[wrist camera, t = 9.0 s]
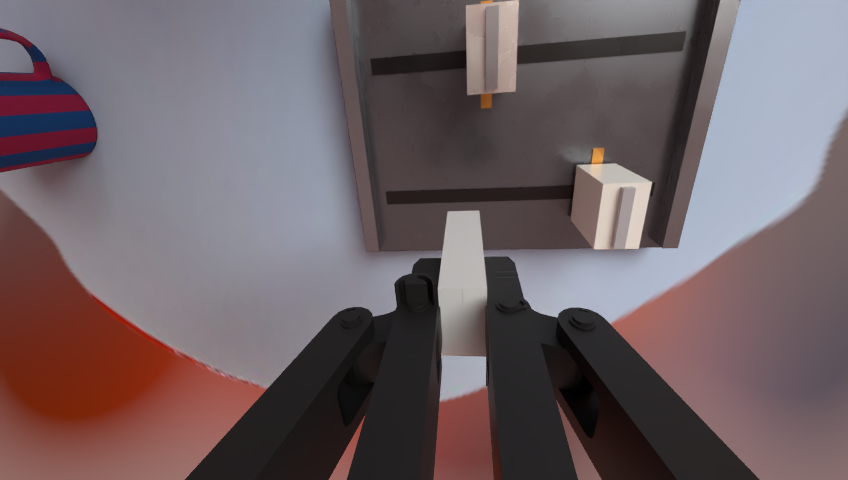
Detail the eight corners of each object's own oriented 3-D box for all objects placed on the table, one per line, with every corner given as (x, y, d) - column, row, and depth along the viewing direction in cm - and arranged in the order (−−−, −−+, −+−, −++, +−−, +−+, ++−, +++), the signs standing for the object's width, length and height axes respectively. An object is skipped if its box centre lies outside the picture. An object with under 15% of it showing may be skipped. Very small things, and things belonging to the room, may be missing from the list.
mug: (15, 126, 30) (-104, 136, 23) (30, 14, 26) (-107, -9, 20) (89, 172, 31) (-6, 194, 25) (115, 72, 27) (9, 67, 21)
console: (341, -4, 23) (289, -41, 16) (719, -47, 20) (847, -114, 13) (375, 241, 30) (348, 285, 23) (656, 236, 27) (718, 285, 21)
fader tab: (576, 165, 23) (605, 185, 18) (615, 163, 23) (655, 184, 18) (570, 219, 25) (595, 252, 20) (606, 219, 25) (641, 251, 20)
